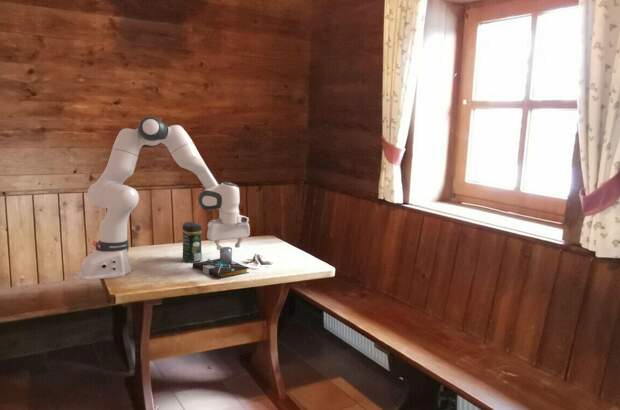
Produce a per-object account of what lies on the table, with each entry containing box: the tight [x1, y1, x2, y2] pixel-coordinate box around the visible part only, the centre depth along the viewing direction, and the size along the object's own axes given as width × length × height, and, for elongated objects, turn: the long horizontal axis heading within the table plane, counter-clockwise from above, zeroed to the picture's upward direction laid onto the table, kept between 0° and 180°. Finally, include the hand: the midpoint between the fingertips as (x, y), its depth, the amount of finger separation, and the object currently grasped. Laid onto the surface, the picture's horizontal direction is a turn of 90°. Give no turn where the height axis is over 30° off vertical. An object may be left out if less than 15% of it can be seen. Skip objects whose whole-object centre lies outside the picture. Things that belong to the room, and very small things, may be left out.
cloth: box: [238, 252, 277, 271], centre depth 250 cm, size 22×19×6 cm
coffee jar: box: [182, 221, 203, 263], centre depth 250 cm, size 10×8×19 cm
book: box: [192, 257, 250, 280], centre depth 236 cm, size 22×17×5 cm
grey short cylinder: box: [219, 246, 233, 264], centre depth 237 cm, size 5×5×6 cm
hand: (228, 248), depth 236 cm, fingers open, 8 cm apart
